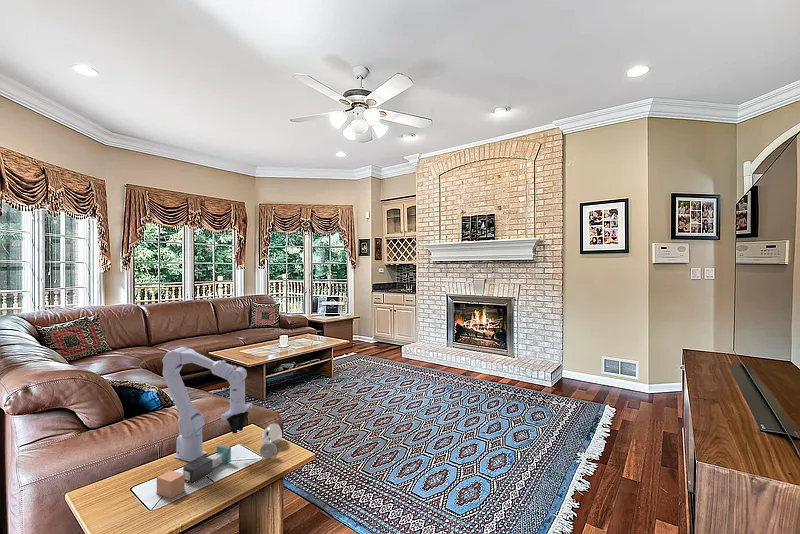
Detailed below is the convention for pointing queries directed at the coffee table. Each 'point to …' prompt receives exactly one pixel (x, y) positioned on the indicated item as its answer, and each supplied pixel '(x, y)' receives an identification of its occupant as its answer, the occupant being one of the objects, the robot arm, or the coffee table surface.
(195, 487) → the coffee table surface
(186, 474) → the grey and teal block
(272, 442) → the wineglass
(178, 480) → the orange brown block
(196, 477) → the dark grey rectangular bar
